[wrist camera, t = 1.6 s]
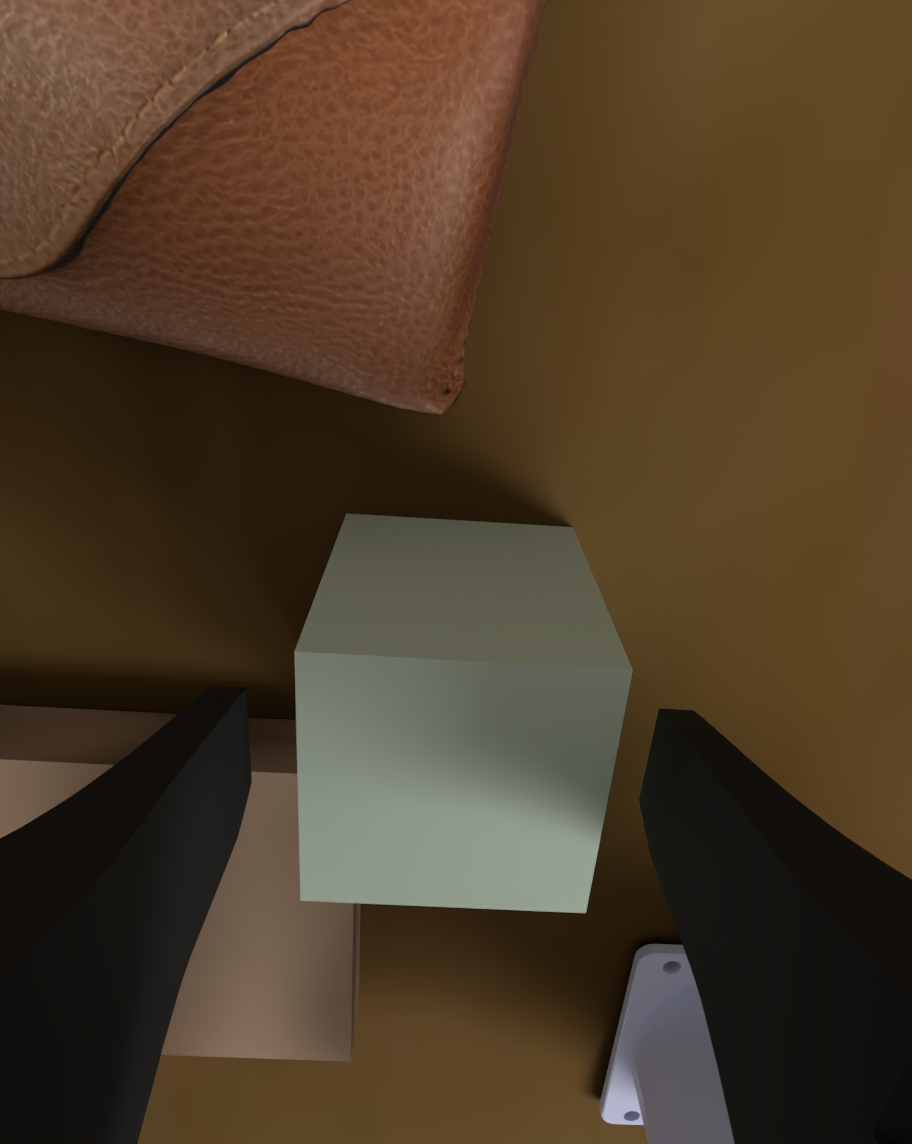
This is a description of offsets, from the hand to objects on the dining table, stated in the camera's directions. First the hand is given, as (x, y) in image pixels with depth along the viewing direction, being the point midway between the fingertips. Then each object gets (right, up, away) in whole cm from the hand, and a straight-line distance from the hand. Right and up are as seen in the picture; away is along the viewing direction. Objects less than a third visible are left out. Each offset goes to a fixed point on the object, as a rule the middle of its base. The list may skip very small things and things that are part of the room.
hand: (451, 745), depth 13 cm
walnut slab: (-7, -5, +7) cm, 12 cm away
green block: (0, +2, +4) cm, 5 cm away
